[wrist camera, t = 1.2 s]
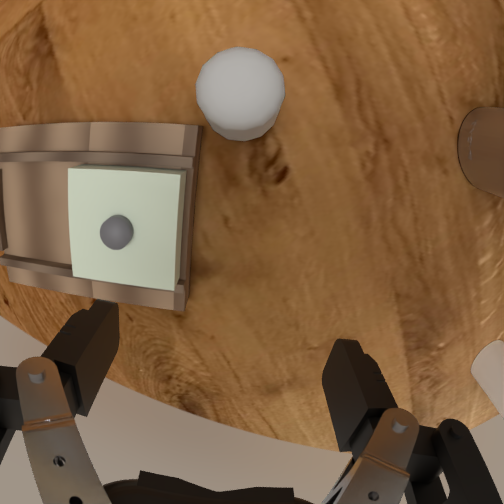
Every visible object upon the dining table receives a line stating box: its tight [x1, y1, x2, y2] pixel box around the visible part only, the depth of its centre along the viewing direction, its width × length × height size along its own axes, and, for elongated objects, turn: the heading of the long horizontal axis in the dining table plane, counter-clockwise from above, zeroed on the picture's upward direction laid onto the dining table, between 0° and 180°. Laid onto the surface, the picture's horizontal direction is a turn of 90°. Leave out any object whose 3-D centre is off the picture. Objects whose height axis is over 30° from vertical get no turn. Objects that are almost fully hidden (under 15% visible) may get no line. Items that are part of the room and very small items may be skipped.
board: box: [0, 122, 203, 311], centre depth 26 cm, size 20×16×4 cm
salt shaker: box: [196, 47, 285, 141], centre depth 19 cm, size 6×6×13 cm
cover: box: [68, 164, 187, 291], centre depth 23 cm, size 9×9×4 cm
